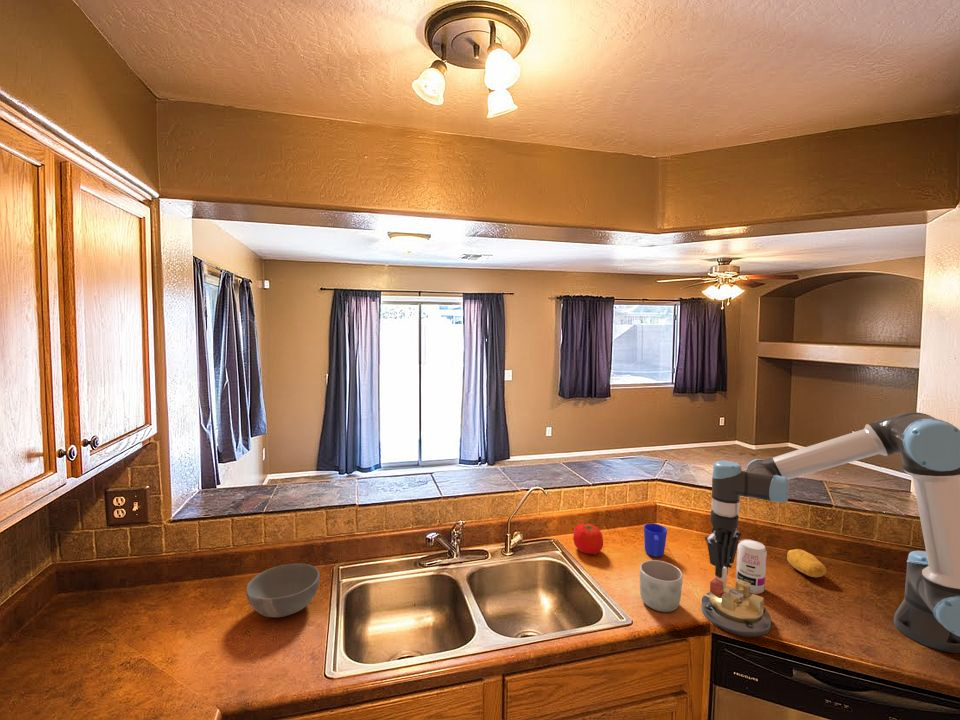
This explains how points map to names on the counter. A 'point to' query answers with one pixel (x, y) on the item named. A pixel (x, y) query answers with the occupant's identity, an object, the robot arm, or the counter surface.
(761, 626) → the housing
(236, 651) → the counter surface
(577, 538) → the tomato
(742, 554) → the supplement can
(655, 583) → the planter
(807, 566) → the potato
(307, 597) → the bowl
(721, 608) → the brass disc with cubes
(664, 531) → the mug
